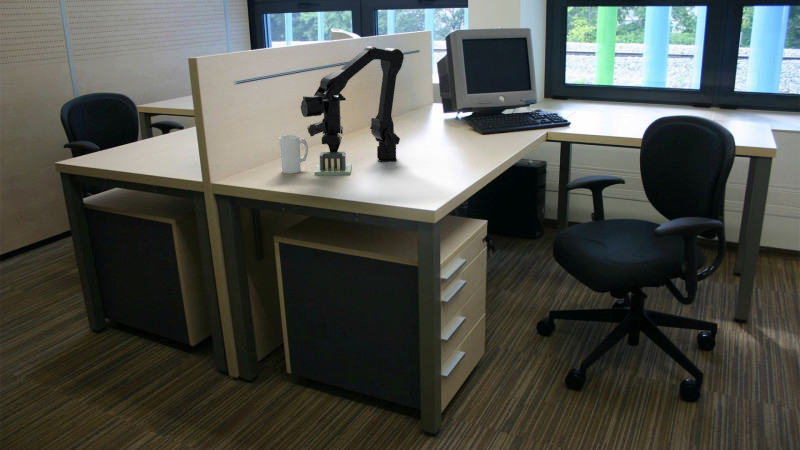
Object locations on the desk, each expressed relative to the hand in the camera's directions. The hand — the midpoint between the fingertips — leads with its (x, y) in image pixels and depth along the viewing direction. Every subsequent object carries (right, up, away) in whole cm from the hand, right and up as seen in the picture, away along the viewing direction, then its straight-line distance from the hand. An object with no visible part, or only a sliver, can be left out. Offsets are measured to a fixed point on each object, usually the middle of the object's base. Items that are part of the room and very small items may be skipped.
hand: (333, 158), depth 231 cm
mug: (-13, -5, -3) cm, 14 cm away
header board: (0, -4, -2) cm, 5 cm away
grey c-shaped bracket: (0, -4, -4) cm, 5 cm away
